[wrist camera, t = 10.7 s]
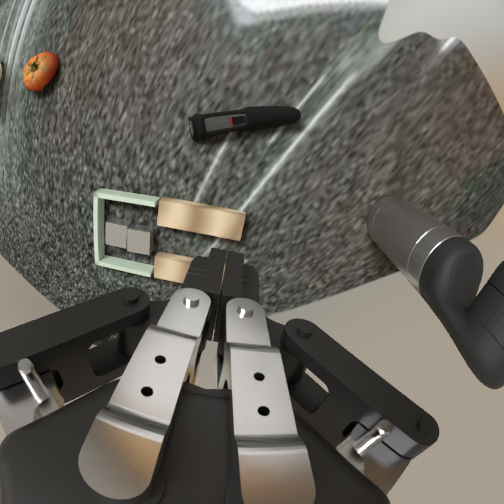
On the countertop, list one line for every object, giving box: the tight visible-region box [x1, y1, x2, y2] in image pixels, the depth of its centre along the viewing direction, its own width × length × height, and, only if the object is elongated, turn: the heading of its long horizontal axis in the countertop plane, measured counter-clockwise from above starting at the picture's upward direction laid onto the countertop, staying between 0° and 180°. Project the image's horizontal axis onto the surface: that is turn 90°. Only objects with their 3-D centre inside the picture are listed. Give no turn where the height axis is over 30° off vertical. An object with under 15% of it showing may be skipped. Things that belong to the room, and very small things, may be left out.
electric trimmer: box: [189, 106, 301, 139], centre depth 35 cm, size 4×16×3 cm, turn 96°
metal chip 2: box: [127, 224, 154, 255], centre depth 42 cm, size 4×4×2 cm
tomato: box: [23, 52, 60, 92], centre depth 28 cm, size 8×7×7 cm
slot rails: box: [154, 197, 246, 286], centre depth 43 cm, size 13×14×2 cm
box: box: [94, 188, 160, 277], centre depth 41 cm, size 11×13×2 cm
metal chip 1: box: [106, 217, 132, 249], centre depth 42 cm, size 4×4×2 cm
